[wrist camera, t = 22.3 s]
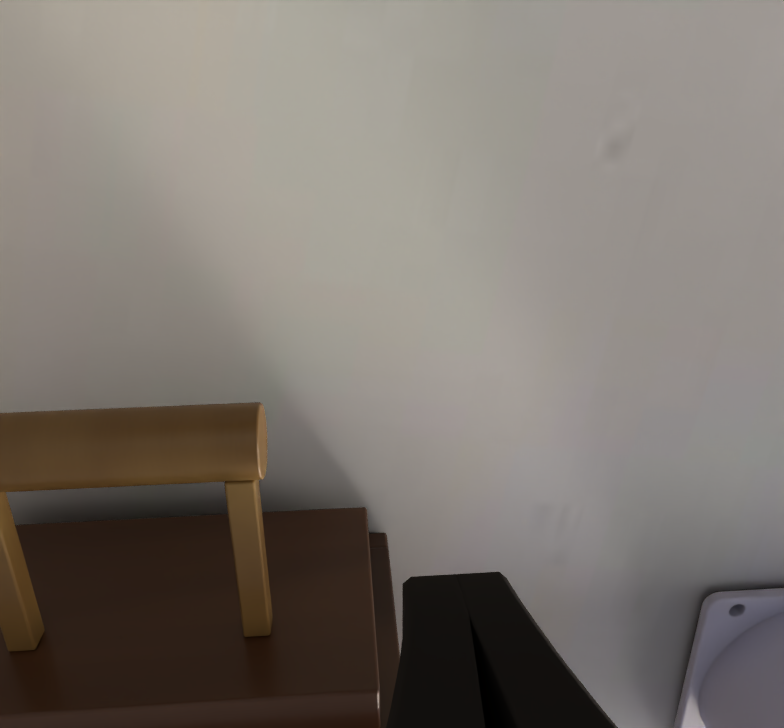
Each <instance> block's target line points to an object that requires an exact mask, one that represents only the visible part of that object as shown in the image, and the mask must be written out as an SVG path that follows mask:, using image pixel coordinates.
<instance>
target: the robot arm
mask: <svg viewBox="0 0 784 728" xmlns="http://www.w3.org/2000/svg"><path fill="white" fill-rule="evenodd" d="M734 605H735V606H734ZM733 606H734V607H733ZM386 728H618V727H617V726H616V725H615V724H614V723H613V721H612V720H611V719H610V718H609V717H608V716H607V714H606V713H605V712H604V711H603V710H602V708H601V707H600V706H599V705H598V703H597V702H596V701H595V700H594V698H593V697H592V696H591V695H590V693H589V692H588V691H587V690H586V688H585V687H584V686H583V685H582V683H581V682H580V681H579V680H578V678H577V677H576V676H575V674H574V673H573V672H572V671H571V669H570V668H569V667H568V666H567V664H566V663H565V662H564V660H563V659H562V658H561V656H560V655H559V654H558V652H557V651H556V650H555V648H554V647H553V646H552V644H551V643H550V641H549V640H548V639H547V637H546V636H545V635H544V633H543V632H542V630H541V629H540V628H539V626H538V625H537V623H536V622H535V621H534V619H533V618H532V616H531V615H530V613H529V612H528V610H527V609H526V608H525V606H524V605H523V603H522V602H521V600H520V599H519V597H518V596H517V594H516V592H515V591H514V589H513V588H512V586H511V585H510V583H509V581H508V580H507V578H506V577H504V576H503V575H502V574H501V573H500V572H487V573H470V574H453V575H435V576H418V577H410V578H409V579H408V580H407V581H406V582H404V583H403V639H402V647H401V655H400V662H399V667H398V672H397V678H396V683H395V688H394V693H393V698H392V703H391V709H390V713H389V717H388V722H387V726H386ZM674 728H784V588H774V589H757V590H741V591H724V592H716V593H713V594H711V595H709V596H708V597H707V598H706V599H705V600H704V602H703V604H702V607H701V612H700V616H699V620H698V625H697V629H696V633H695V638H694V642H693V646H692V651H691V655H690V659H689V663H688V668H687V672H686V676H685V681H684V685H683V689H682V694H681V698H680V702H679V707H678V711H677V715H676V719H675V724H674Z"/></svg>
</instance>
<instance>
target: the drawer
mask: <svg viewBox="0 0 784 728" xmlns="http://www.w3.org/2000/svg"><path fill="white" fill-rule="evenodd" d="M266 468H267V426H266V417H265V411H264V407H263V405H262V403H260V402H255V403H231V404H207V405H182V406H158V407H133V408H109V409H85V410H60V411H36V412H11V413H0V728H380V726H381V720H380V685H379V671H378V657H377V643H376V629H375V615H374V601H373V587H372V573H371V560H370V546H369V532H368V518H367V509H366V508H365V507H357V508H337V509H318V510H298V511H279V512H262V508H261V498H260V488H259V480H262V479H264V477H265V474H266ZM224 481H225V484H224V486H225V493H226V501H227V509H228V514H220V515H200V516H181V517H161V518H142V519H122V520H102V521H83V522H63V523H44V524H24V525H15V523H14V520H13V516H12V512H11V509H10V505H9V502H8V498H7V495H6V492H16V491H37V490H58V489H79V488H100V487H120V486H141V485H162V484H183V483H204V482H224Z"/></svg>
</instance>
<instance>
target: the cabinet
mask: <svg viewBox="0 0 784 728" xmlns="http://www.w3.org/2000/svg"><path fill="white" fill-rule="evenodd" d="M369 546H370V560H371V573H372V587H373V601H374V615H375V629H376V643H377V657H378V671H379V685H380V720H381V726H380V728H386V726H387V722H388V717H389V713H390V709H391V703H392V698H393V693H394V688H395V683H396V678H397V672H398V667H399V662H400V652H399V643H398V633H397V624H396V615H395V606H394V596H393V587H392V578H391V569H390V559H389V550H388V542H387V535H386V533H369Z"/></svg>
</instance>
